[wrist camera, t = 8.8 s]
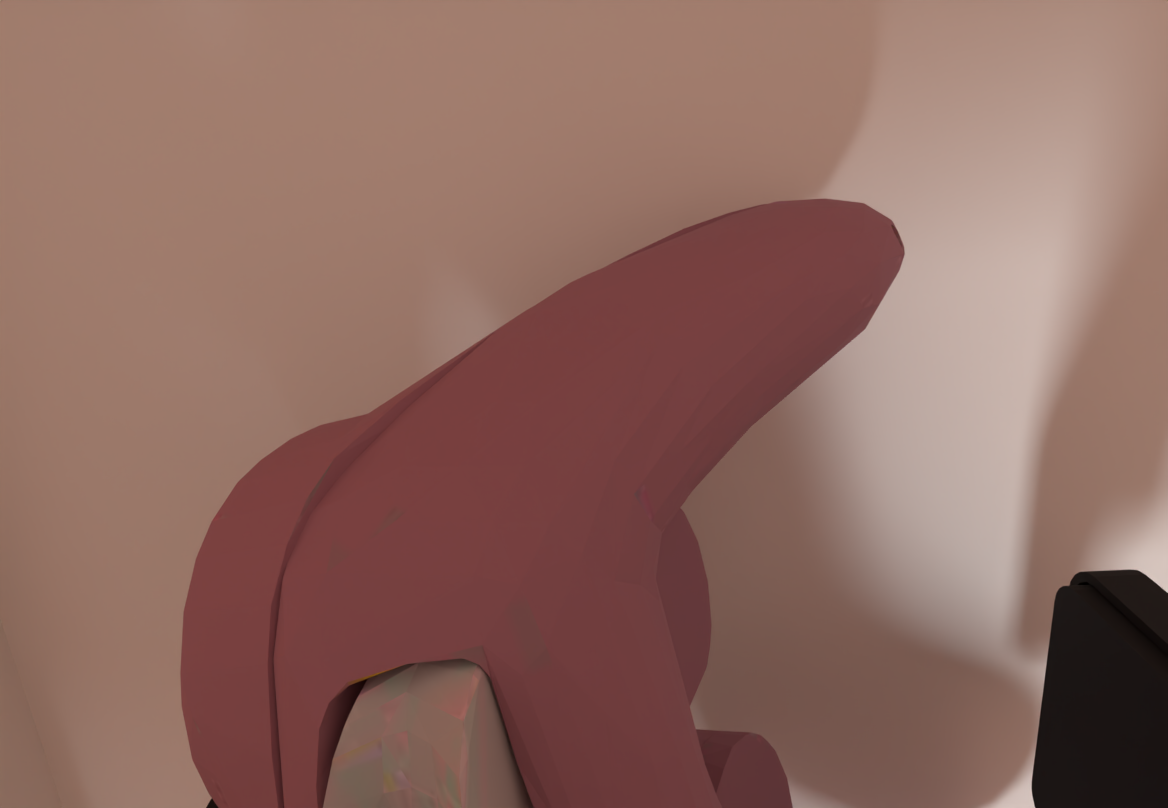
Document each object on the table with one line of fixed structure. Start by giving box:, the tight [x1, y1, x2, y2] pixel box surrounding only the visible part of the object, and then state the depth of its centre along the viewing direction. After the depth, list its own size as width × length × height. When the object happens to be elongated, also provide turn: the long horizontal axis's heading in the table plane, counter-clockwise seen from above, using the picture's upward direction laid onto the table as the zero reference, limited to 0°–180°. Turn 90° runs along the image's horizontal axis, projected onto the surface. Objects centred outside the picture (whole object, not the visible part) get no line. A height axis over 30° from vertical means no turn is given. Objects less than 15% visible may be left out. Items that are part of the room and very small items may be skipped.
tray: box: [0, 0, 1168, 808], centre depth 10 cm, size 20×20×2 cm
